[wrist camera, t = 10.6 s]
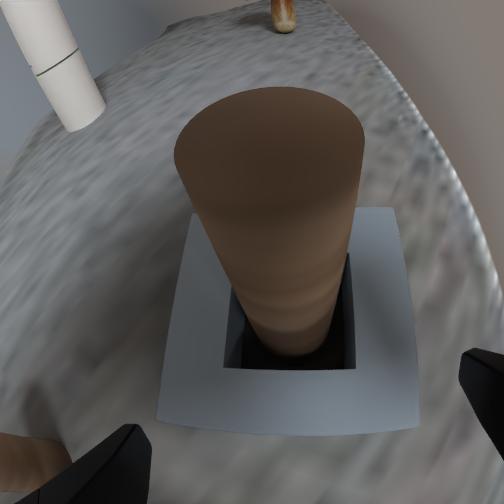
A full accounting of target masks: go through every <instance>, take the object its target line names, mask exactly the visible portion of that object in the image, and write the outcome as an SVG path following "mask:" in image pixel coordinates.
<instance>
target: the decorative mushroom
mask: <svg viewBox="0 0 504 504" xmlns="http://www.w3.org/2000/svg"><path fill="white" fill-rule="evenodd" d="M271 12H272V21H273V25H274V27H275V29H276V30H277V31H279V32H282V33H289V32H291V31H293V30H294V29H295V28H296V14H295V8H294V2H293V0H271Z"/></svg>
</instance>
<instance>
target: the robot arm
mask: <svg viewBox="0 0 504 504" xmlns="http://www.w3.org/2000/svg"><path fill="white" fill-rule="evenodd" d="M458 377H459V382H460V385H461V387H462V388H463V390H464V392H465V394H466V396H467V398H468V400H469V402H470V404H471V406H472V408H473V410H474V412H475V414H476V416H477V418H478V420H479V421H480V423H481V425H482V426H483V428H484V429H485V431H486V433H487V434H488V436H489V437H490V439H491V441H492V442H493V444H494V445H495V447H496V449H497V450H498V452H499V454H500V455H501V457H502V459H503V460H504V355H503V354H499V353H495V352H490V351H486V350H482V349H478V348H472V349H470V350H468V351H465V352H464V353H463V354H462V356H461V362H460V369H459V375H458ZM151 456H152V447H151V443H150V442H149V440H148V438H147V437H146V435H145V433H144V432H143V430H142V428H141V427H140V426H139V425H138V424H124V425H123V426H121V427H120V428H119V429H117V430H116V431H115V432H114V433H112V434H111V435H110V436H108V437H107V438H106V439H105V440H103V441H102V442H101V443H99V444H98V445H97V446H95V447H94V448H93V449H91V450H90V451H89V452H88V453H86V454H85V455H84V456H82V457H81V458H79V459H78V460H77V461H75V462H74V463H73V464H71V465H70V466H69V467H67V468H66V469H65V470H63V471H62V472H60V473H59V474H58V475H56V476H55V477H53V478H52V479H51V480H49V481H48V482H46V483H45V484H43V485H42V486H41V487H40V488H38V489H36V490H35V491H33V492H32V493H30V494H29V495H27V496H26V497H24V498H23V499H21V500H20V501H18V502H16V503H14V504H147V499H148V492H149V480H150V467H151Z"/></svg>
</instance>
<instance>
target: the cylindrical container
mask: <svg viewBox="0 0 504 504" xmlns="http://www.w3.org/2000/svg"><path fill="white" fill-rule="evenodd" d="M0 6H1V9H2V10H3V13H4V15H5V17H6V19H7V22H8V24H9V26H10V28H11V30H12V32H13V34H14V36H15V38H16V40H17V42H18V44H19V46H20V48H21V50H22V52H23V54H24V56H25V58H26V60H27V62H28V64H29V65H30V68H31V70H32V71H33V73H34V75H35V77H36V78H37V80H38V82H39V84H40V86H41V88H42V89H43V91H44V93H45V94H46V96H47V98H48V100H49V101H50V103H51V105H52V106H53V108H54V110H55V112H56V113H57V115H58V117H59V118H60V120H61V122H62V123H63V125H64V127H65V128H66V130H67V131H68V132H74V131H77V130H80V129H82V128H84V127H86V126H87V125H89V124H90V123H92V122H93V121H94V120H96V119H97V118H98V117H99V116H100V115H101V114H102V113H103V112H104V110H105V108H106V104H105V102H104V100H103V98H102V96H101V94H100V92H99V90H98V88H97V86H96V84H95V82H94V80H93V78H92V76H91V74H90V71H89V69H88V67H87V65H86V63H85V61H84V59H83V57H82V55H81V52H80V50H79V48H78V46H77V44H76V41H75V39H74V37H73V35H72V33H71V31H70V28H69V26H68V24H67V22H66V19H65V17H64V15H63V12H62V10H61V7H60V5H59V3H58V0H0Z"/></svg>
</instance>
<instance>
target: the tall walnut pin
mask: <svg viewBox="0 0 504 504" xmlns="http://www.w3.org/2000/svg"><path fill="white" fill-rule="evenodd" d="M364 144H365V136H364V131H363V128H362V126H361V123H360V121H359V120H358V118H357V117H356V116H355V114H354V113H353V112H352V111H351V110H350V109H349V108H347V107H346V106H345V105H344V104H342V103H341V102H339V101H337V100H336V99H334V98H331V97H329V96H327V95H325V94H322V93H319V92H315V91H312V90H307V89H302V88H294V87H266V88H258V89H253V90H248V91H244V92H240V93H237V94H234V95H231V96H228V97H226V98H223V99H221V100H219V101H217V102H215V103H213V104H211V105H210V106H208V107H206V108H205V109H203V110H202V111H201V112H199V113H198V114H197V115H196V116H195V117H193V118H192V119H191V120H190V121H189V122H188V124H187V125H186V126H185V127H184V129H183V130H182V132H181V133H180V135H179V137H178V139H177V141H176V145H175V148H174V161H175V165H176V168H177V171H178V173H179V175H180V178H181V180H182V182H183V184H184V186H185V188H186V191H187V193H188V195H189V197H190V199H191V202H192V204H193V206H194V208H195V210H196V212H197V214H198V217H199V219H200V221H201V223H202V225H203V227H204V229H205V231H206V234H207V236H208V238H209V240H210V242H211V244H212V246H213V248H214V250H215V252H216V255H217V257H218V259H219V261H220V263H221V265H222V267H223V269H224V271H225V273H226V275H227V277H228V279H229V281H230V283H231V285H232V287H233V289H234V291H235V293H236V296H237V298H238V300H239V302H240V304H241V306H242V308H243V310H244V312H245V314H246V316H247V318H248V320H249V322H250V323H251V325H252V327H253V329H254V331H255V333H256V335H257V337H258V339H259V341H260V343H261V345H262V347H263V349H264V351H265V352H266V353H267V355H268V356H269V357H270V358H272V359H273V360H274V361H276V362H278V363H281V364H283V365H289V366H296V365H302V364H305V363H307V362H309V361H311V360H313V359H314V358H315V357H316V356H318V354H319V353H320V352H321V351H322V349H323V347H324V345H325V343H326V339H327V336H328V332H329V328H330V324H331V320H332V316H333V312H334V308H335V304H336V300H337V296H338V292H339V287H340V283H341V278H342V274H343V269H344V264H345V260H346V255H347V250H348V245H349V240H350V235H351V229H352V224H353V218H354V212H355V207H356V201H357V194H358V188H359V181H360V175H361V168H362V160H363V152H364Z"/></svg>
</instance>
